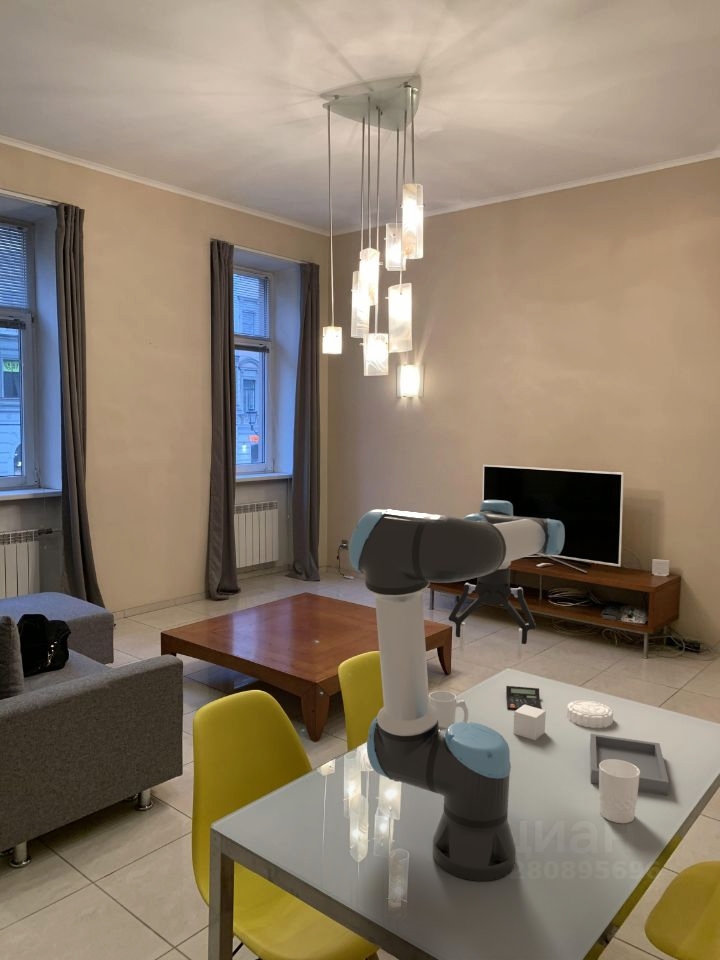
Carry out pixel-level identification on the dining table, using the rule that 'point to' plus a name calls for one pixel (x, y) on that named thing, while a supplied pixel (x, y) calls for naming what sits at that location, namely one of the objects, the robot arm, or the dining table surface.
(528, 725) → the white cube
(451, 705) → the mug
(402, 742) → the robot arm
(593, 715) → the mooncake
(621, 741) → the tray
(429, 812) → the dining table surface
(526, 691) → the calculator
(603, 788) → the white cup
